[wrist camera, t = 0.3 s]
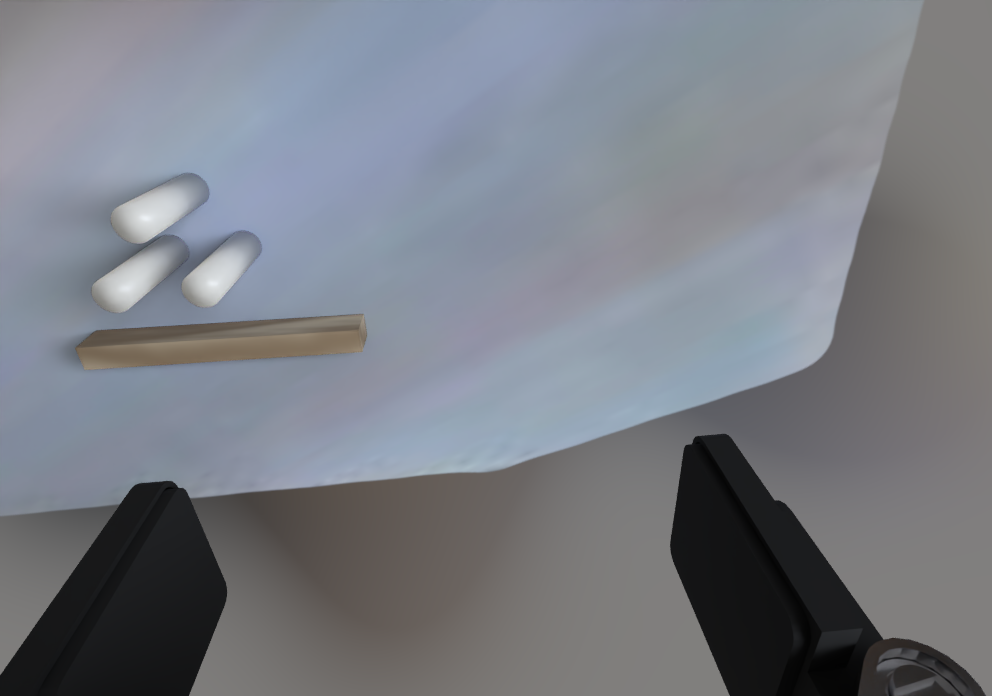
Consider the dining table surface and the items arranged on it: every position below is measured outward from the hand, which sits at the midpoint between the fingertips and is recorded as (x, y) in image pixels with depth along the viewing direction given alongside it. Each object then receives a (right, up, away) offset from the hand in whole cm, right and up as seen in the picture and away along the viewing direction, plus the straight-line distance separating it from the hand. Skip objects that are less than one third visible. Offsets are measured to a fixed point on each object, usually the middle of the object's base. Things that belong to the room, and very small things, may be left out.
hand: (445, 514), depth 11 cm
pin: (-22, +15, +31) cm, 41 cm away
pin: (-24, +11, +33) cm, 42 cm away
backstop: (-21, +4, +37) cm, 43 cm away
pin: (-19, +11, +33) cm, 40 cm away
